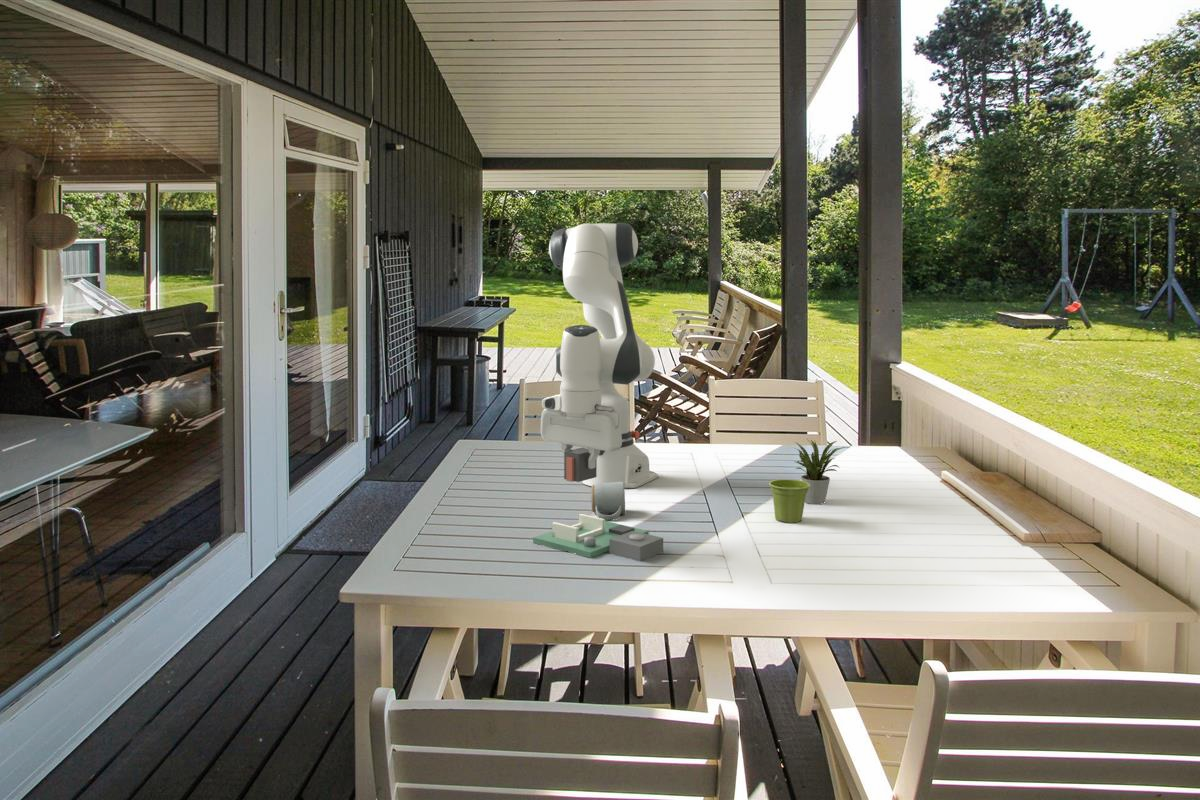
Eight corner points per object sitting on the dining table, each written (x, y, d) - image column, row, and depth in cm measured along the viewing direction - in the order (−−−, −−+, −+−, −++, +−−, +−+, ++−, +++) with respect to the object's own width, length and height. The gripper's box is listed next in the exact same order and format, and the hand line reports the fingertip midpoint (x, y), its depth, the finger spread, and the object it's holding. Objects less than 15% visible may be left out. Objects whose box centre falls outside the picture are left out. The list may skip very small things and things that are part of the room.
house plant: (851, 497, 246) (854, 434, 243) (846, 510, 233) (849, 444, 230) (794, 492, 250) (797, 431, 248) (787, 505, 237) (789, 440, 235)
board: (592, 523, 221) (592, 505, 221) (648, 536, 211) (648, 517, 211) (533, 542, 206) (533, 523, 205) (590, 557, 196) (590, 538, 195)
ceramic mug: (591, 508, 234) (591, 478, 232) (625, 508, 234) (625, 478, 232) (591, 521, 223) (591, 489, 222) (626, 521, 223) (626, 489, 222)
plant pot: (763, 514, 229) (764, 479, 228) (802, 513, 230) (803, 478, 229) (773, 525, 220) (775, 488, 219) (814, 524, 221) (815, 488, 219)
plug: (582, 474, 210) (582, 447, 209) (596, 477, 207) (596, 449, 206) (562, 479, 205) (562, 452, 204) (576, 482, 202) (576, 454, 201)
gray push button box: (632, 544, 205) (632, 528, 205) (663, 551, 200) (663, 535, 200) (609, 553, 199) (609, 536, 199) (640, 561, 194) (640, 543, 194)
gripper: (628, 405, 200) (627, 470, 202) (555, 396, 213) (555, 457, 215) (609, 409, 195) (609, 475, 197) (535, 399, 208) (536, 462, 210)
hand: (580, 466), depth 206 cm, fingers closed on plug, 4 cm apart
